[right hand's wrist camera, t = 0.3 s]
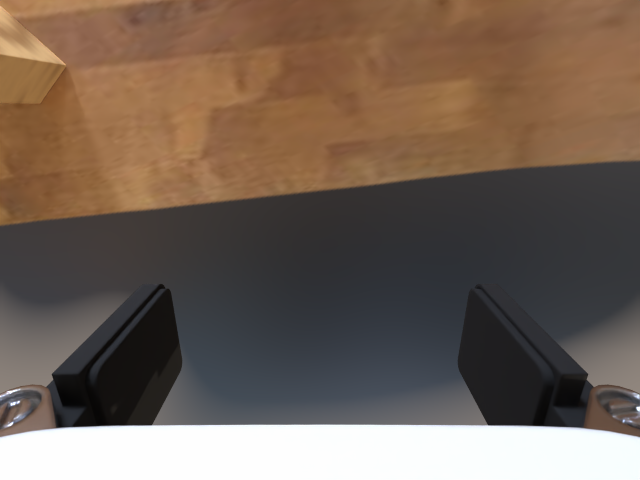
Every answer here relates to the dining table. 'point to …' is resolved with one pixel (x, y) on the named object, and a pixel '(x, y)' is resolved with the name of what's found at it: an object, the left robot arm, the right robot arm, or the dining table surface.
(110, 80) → the dining table surface
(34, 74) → the beam
